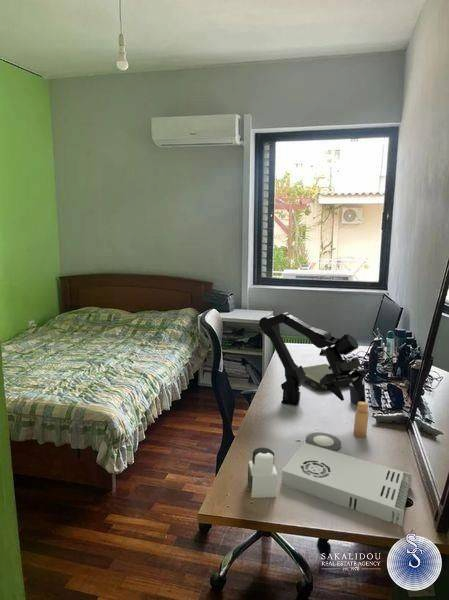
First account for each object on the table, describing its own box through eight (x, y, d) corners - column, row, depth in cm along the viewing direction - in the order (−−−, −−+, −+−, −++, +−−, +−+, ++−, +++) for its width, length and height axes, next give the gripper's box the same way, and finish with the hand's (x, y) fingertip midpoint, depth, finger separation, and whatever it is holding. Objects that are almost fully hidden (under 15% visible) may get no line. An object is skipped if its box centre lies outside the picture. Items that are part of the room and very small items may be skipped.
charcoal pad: (302, 446, 144) (302, 444, 144) (309, 431, 155) (310, 429, 155) (338, 455, 140) (338, 453, 140) (343, 438, 151) (343, 436, 150)
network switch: (358, 385, 202) (359, 375, 201) (324, 395, 189) (325, 385, 188) (321, 370, 221) (322, 361, 220) (288, 378, 208) (289, 369, 207)
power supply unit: (402, 528, 108) (404, 511, 107) (280, 485, 123) (281, 470, 122) (410, 489, 124) (412, 474, 123) (302, 456, 139) (303, 442, 139)
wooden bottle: (352, 435, 153) (355, 404, 151) (354, 430, 157) (357, 400, 155) (365, 438, 151) (369, 407, 149) (366, 433, 155) (370, 402, 153)
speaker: (370, 403, 181) (370, 380, 179) (365, 408, 177) (364, 384, 175) (353, 399, 186) (352, 377, 184) (348, 404, 181) (347, 381, 180)
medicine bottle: (247, 482, 123) (249, 444, 121) (271, 482, 124) (273, 444, 122) (250, 498, 116) (252, 458, 114) (276, 497, 117) (279, 458, 115)
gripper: (326, 353, 155) (344, 393, 147) (366, 348, 162) (385, 386, 155) (312, 367, 163) (328, 405, 155) (350, 362, 171) (367, 398, 163)
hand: (352, 398), depth 157 cm, fingers open, 9 cm apart
